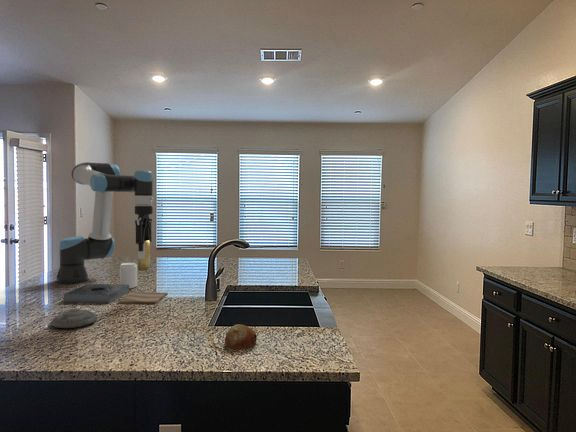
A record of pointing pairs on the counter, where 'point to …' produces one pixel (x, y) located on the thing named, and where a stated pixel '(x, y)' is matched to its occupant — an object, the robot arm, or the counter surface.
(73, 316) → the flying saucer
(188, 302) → the counter surface
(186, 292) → the counter surface
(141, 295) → the walnut pad
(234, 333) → the bread roll
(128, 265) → the white cylinder
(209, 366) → the counter surface
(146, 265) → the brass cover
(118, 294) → the bore block
